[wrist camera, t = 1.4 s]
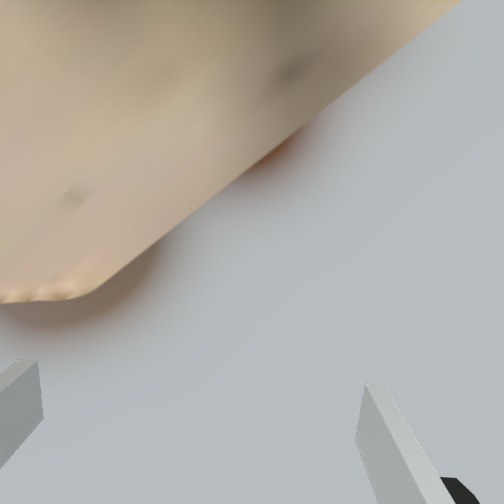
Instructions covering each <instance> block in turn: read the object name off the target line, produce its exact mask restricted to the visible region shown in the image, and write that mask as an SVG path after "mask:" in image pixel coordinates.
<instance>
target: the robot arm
mask: <svg viewBox="0 0 504 504" xmlns="http://www.w3.org/2000/svg"><path fill="white" fill-rule="evenodd" d="M43 419H44V418H43V408H42V398H41V388H40V378H39V369H38V361H37V360H23V359H18V360H17V361H15V362H14V363H13V364H12V365H10V366H9V367H8V368H7V369H5V370H4V371H3V372H2V373H0V469H1V467H2V466H3V465H4V464H5V463H6V462H7V461H8V459H9V458H10V457H11V456H12V455H13V454H14V452H15V451H16V450H17V449H18V448H19V447H20V445H21V444H22V443H23V442H24V441H25V440H26V439H27V437H28V436H29V435H30V434H31V433H32V432H33V430H34V429H35V428H36V427H37V426H38V424H39V423H40V422H41V421H42V420H43ZM355 441H356V444H357V447H358V450H359V452H360V455H361V458H362V461H363V463H364V466H365V469H366V471H367V474H368V477H369V480H370V483H371V485H372V488H373V491H374V493H375V496H376V499H377V502H378V504H480V503H479V502H478V500H477V499H476V497H475V496H474V495H473V494H472V493H471V492H470V491H469V490H468V489H467V488H466V487H465V486H464V485H463V484H462V483H461V482H460V481H459V480H458V479H457V478H446V477H445V478H444V477H439V476H438V474H437V472H436V470H435V469H434V467H433V465H432V464H431V462H430V460H429V459H428V457H427V455H426V454H425V452H424V450H423V449H422V448H421V445H420V444H419V442H418V441H417V439H416V437H415V435H414V434H413V432H412V431H411V429H410V427H409V425H408V424H407V422H406V420H405V419H404V417H403V415H402V414H401V412H400V411H399V409H398V407H397V405H396V404H395V402H394V400H393V399H392V397H391V395H390V394H389V392H388V390H387V389H386V387H385V385H382V384H368V383H365V387H364V392H363V398H362V404H361V409H360V415H359V420H358V426H357V432H356V437H355Z"/></svg>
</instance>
